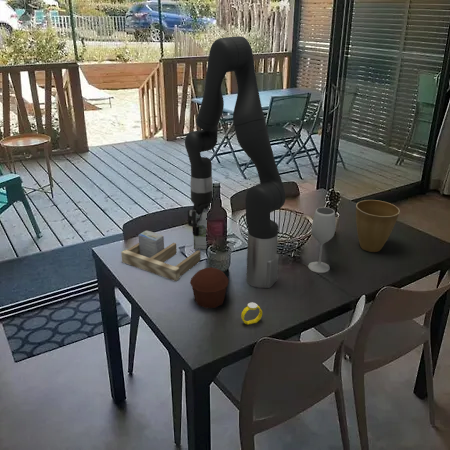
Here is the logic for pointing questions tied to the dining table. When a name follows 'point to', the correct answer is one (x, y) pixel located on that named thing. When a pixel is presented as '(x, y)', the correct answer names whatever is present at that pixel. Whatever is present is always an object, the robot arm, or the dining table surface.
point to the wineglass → (322, 234)
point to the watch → (251, 307)
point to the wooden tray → (160, 261)
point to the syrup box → (201, 232)
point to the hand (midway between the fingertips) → (202, 231)
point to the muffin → (209, 287)
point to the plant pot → (375, 223)
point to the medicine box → (150, 243)
